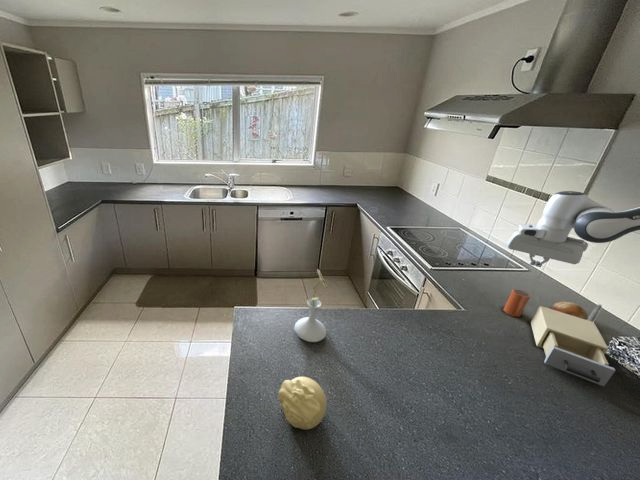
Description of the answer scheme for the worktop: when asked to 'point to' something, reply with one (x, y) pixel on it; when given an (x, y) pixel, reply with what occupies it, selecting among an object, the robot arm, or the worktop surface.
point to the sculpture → (302, 402)
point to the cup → (516, 302)
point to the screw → (594, 313)
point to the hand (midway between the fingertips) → (534, 265)
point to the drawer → (577, 358)
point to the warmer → (565, 328)
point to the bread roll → (570, 309)
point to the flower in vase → (312, 319)
